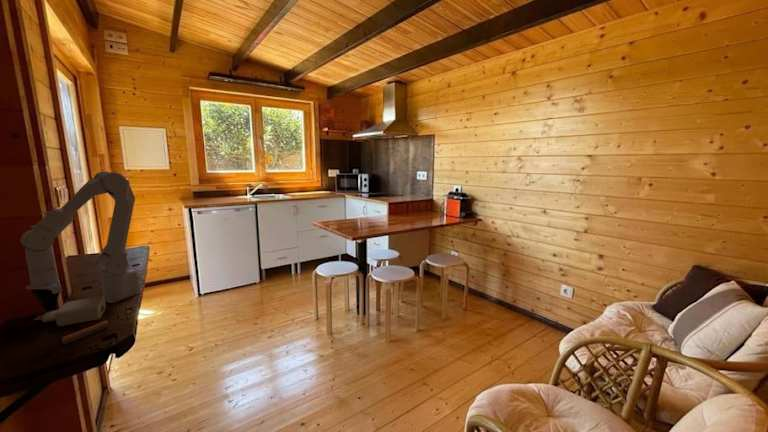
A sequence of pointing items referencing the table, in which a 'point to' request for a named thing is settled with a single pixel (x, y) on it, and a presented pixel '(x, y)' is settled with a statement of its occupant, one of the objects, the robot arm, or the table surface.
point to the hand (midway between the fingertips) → (50, 310)
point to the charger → (76, 312)
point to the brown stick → (85, 332)
